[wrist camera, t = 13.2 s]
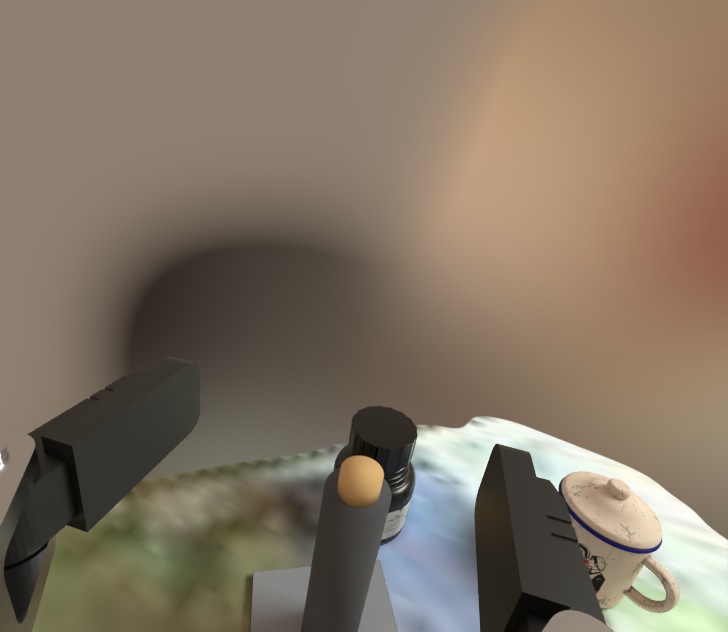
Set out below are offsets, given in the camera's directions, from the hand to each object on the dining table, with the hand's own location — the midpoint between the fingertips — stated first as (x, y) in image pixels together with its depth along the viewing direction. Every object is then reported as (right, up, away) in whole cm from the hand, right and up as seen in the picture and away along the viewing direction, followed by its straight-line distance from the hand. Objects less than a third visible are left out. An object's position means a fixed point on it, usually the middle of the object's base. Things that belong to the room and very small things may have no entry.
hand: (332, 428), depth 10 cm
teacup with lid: (+24, -25, +30) cm, 46 cm away
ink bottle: (+1, -19, +33) cm, 39 cm away
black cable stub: (-2, -23, +21) cm, 31 cm away
